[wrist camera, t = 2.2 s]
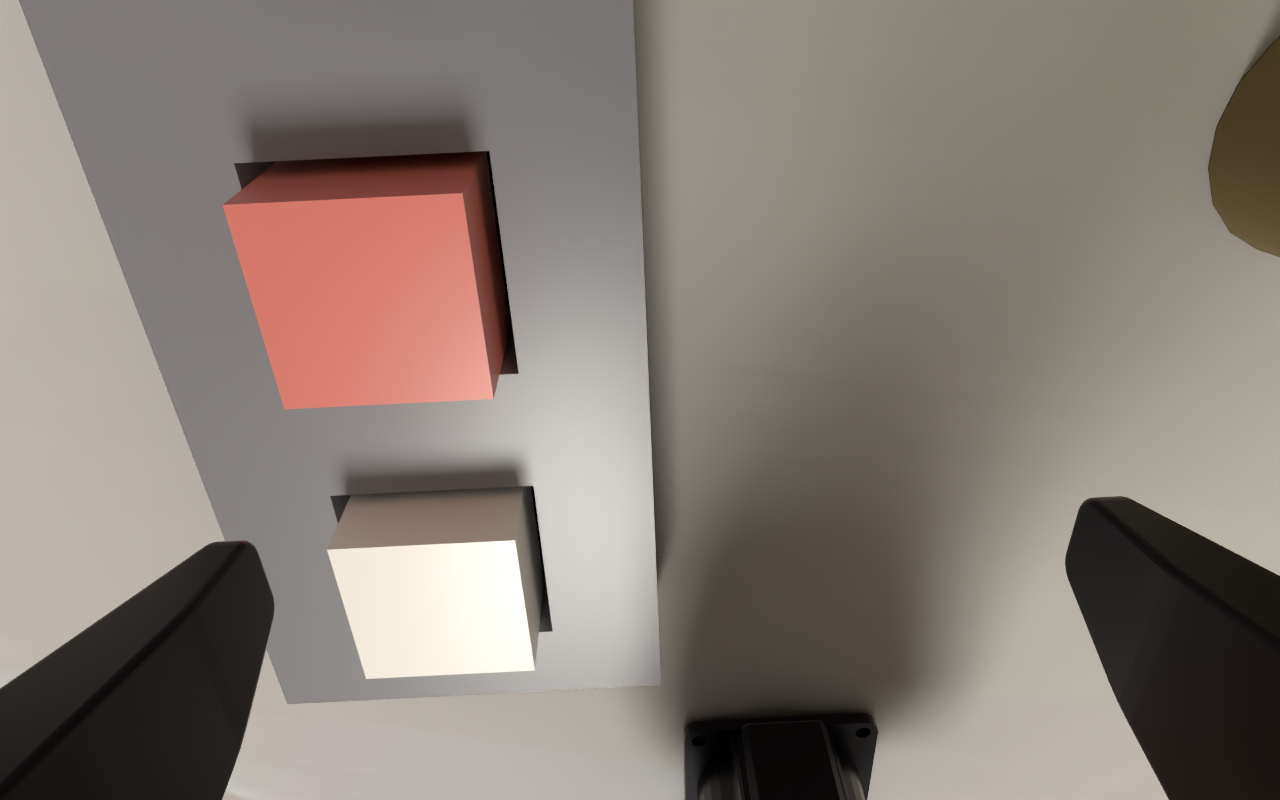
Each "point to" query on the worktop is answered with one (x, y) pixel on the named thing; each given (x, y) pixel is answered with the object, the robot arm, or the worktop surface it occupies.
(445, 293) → the red button
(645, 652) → the button panel
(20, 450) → the worktop surface
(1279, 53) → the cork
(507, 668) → the button
